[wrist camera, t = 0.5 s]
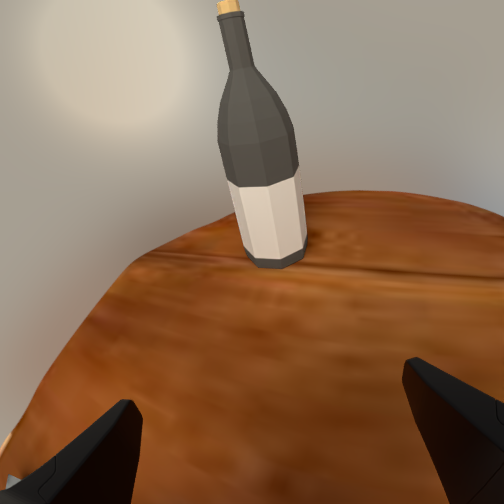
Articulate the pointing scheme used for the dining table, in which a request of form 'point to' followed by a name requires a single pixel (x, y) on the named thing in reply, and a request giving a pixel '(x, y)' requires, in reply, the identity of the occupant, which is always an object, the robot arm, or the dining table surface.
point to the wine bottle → (259, 154)
